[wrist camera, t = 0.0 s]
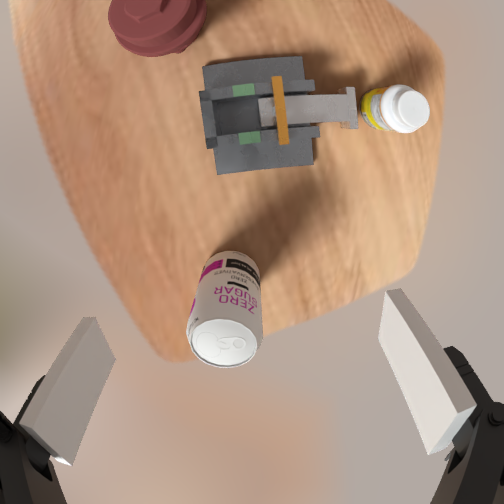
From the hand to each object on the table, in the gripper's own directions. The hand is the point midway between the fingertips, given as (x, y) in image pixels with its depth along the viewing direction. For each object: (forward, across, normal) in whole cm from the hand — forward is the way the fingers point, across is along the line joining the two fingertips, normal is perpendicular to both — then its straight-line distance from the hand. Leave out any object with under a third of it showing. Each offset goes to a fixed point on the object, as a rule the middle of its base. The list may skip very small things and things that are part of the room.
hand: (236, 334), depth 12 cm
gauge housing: (+28, +3, +9) cm, 30 cm away
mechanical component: (+28, -6, +22) cm, 36 cm away
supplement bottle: (+28, +18, +9) cm, 35 cm away
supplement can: (+28, -4, -12) cm, 31 cm away
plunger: (+27, +8, +9) cm, 30 cm away
